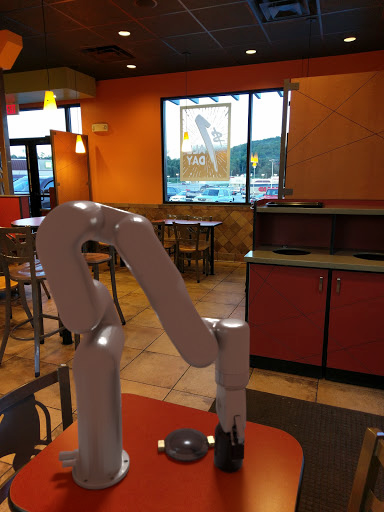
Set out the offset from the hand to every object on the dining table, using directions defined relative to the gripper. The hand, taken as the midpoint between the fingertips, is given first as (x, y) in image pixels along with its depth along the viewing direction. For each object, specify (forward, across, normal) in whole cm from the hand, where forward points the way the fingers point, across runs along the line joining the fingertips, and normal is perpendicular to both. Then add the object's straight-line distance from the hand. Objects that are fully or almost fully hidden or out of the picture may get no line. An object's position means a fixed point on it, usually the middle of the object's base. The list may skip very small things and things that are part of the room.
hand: (231, 443), depth 83 cm
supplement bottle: (+5, 0, -1) cm, 5 cm away
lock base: (+5, -7, -10) cm, 13 cm away
